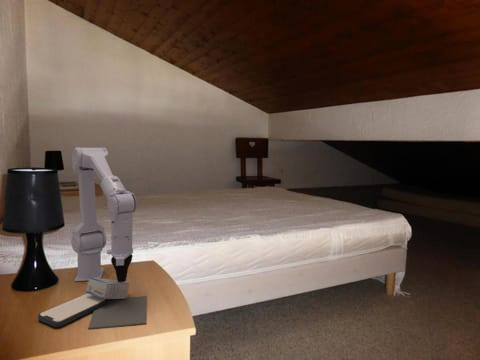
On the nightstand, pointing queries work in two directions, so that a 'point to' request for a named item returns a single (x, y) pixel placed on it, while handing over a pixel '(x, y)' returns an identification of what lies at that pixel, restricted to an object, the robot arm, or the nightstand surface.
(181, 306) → the nightstand surface
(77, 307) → the phone case
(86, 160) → the robot arm
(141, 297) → the mat
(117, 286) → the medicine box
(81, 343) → the nightstand surface
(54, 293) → the nightstand surface
